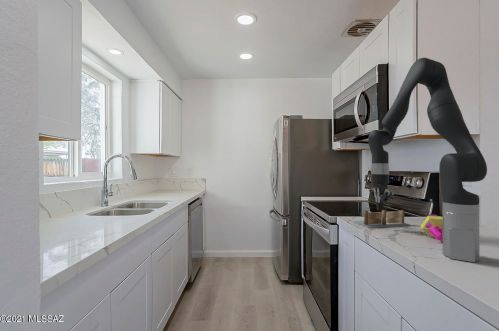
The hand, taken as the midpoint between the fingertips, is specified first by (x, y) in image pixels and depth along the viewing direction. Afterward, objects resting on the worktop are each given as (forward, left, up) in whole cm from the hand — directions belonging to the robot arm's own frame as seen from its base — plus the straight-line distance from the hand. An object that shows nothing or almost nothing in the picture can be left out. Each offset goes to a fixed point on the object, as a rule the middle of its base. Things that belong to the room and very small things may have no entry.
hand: (379, 210), depth 121 cm
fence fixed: (+13, -4, -9) cm, 16 cm away
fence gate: (+5, +4, -8) cm, 10 cm away
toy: (-5, -22, -9) cm, 24 cm away
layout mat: (+11, +1, -9) cm, 14 cm away
